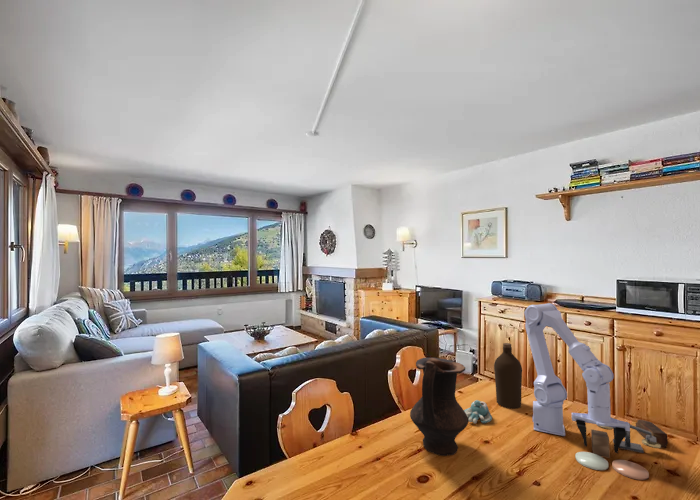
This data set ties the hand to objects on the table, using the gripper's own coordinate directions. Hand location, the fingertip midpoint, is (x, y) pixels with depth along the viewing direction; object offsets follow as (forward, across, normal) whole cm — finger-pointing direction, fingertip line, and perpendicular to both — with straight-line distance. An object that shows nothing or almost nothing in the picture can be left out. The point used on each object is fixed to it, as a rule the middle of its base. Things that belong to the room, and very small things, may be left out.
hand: (600, 448), depth 106 cm
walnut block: (+2, 0, 0) cm, 2 cm away
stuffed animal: (+2, -37, +6) cm, 38 cm away
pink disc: (+1, +6, -7) cm, 9 cm away
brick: (+2, +16, +18) cm, 24 cm away
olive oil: (+2, -28, +26) cm, 38 cm away
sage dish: (+1, -3, -7) cm, 8 cm away
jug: (+2, -45, -21) cm, 50 cm away
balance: (+1, +8, +8) cm, 11 cm away
